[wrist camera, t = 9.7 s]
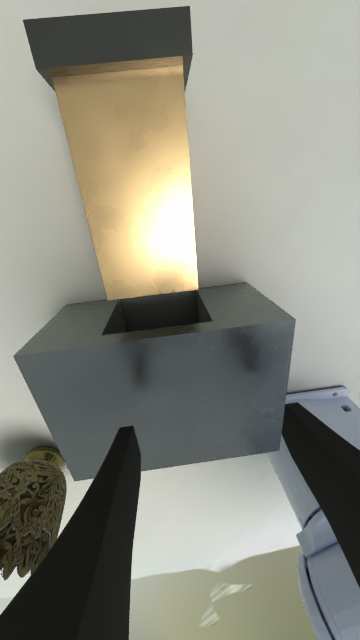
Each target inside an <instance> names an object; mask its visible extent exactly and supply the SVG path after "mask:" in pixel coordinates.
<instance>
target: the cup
mask: <svg viewBox="0 0 360 640" xmlns="http://www.w3.org/2000/svg"><path fill="white" fill-rule="evenodd" d="M61 467H62V456H61V454H60V452H58V451H57V450H56V449H54V448H51V447H37V448H35V449H33V450H31V451H30V452H29V453H28V454H27V455H26V456H25V457H24V459H23V461H19V462H17V463H15V464H13V465H11V466H9V467H8V468H6V469H5V470H4V471H2V472H1V473H0V570H1V571H3V575H2V574H1V575H2V577H3V578H4V580H7V579H8V578H9V576H10V575H11V573H12V572H13V570H14V569H15V568H14V567H16V566H17V573H18V575H19V576H20V577H21V578H22V577H24V576H25V575H26V574H28V572H29V570H30V569H31V570H30V571H31V575H32V574H33V572H34V571H35V570H36V568H37V567H38V565H39V564H40V563H41V561H42V560H43V559H44V557H45V556H46V554H47V553H48V551H49V550H50V549H51V547H52V546H53V544H54V543H55V541H56V540H57V536H58V532H59V528H60V523H61V519H62V514H63V509H64V504H65V498H66V480H65V476H64V474H63V472H62V471H61ZM17 563H18V564H17ZM2 568H3V570H2Z"/></svg>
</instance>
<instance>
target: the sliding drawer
mask: <svg viewBox="0 0 360 640" xmlns="http://www.w3.org/2000/svg"><path fill="white" fill-rule="evenodd" d="M23 22H24V26H25V29H26V33H27V37H28V41H29V44H30V48H31V52H32V56H33V59H34V63H35V67H36V70H37V71H38V72H39V73H40V74H41V75H42V77H43V78H44V79H45V80H46V81H47V83H48V84H49V85H50V86H51V87H52V89H53V90H54V91H55V92H56V96H57V100H58V104H59V108H60V112H61V116H62V120H63V124H64V128H65V132H66V136H67V140H68V144H69V148H70V152H71V156H72V160H73V164H74V168H75V172H76V176H77V180H78V184H79V188H80V192H81V196H82V200H83V204H84V208H85V212H86V216H87V220H88V224H89V228H90V232H91V236H92V240H93V244H94V248H95V252H96V256H97V260H98V264H99V268H100V272H101V276H102V280H103V284H104V288H105V292H106V296H107V300H116V299H124V298H132V297H140V296H148V295H157V294H165V293H173V292H181V291H189V290H197V289H198V277H197V262H196V248H195V234H194V219H193V205H192V190H191V176H190V162H189V147H188V133H187V119H186V104H185V89H186V85H187V80H188V75H189V70H190V65H191V60H192V55H193V54H192V36H191V18H190V6H184V7H172V8H160V9H148V10H136V11H124V12H112V13H99V14H87V15H75V16H63V17H51V18H39V19H27V20H23Z"/></svg>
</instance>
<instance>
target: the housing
mask: <svg viewBox="0 0 360 640" xmlns="http://www.w3.org/2000/svg"><path fill="white" fill-rule="evenodd" d="M197 303H198V317H199V323H195V324H187V325H180V326H172V327H164V328H156V329H149V330H141V331H133V332H127V331H126V327H125V322H124V318H123V313H122V309H121V305H120V300H119V299H116V300H102V301H94V302H86V303H78V304H70V305H66V306H65V307H64V308H63V309H62V310H61V311H60V312H59V313H58V314H57V315H56V316H55V317H53V318H52V319H51V320H50V321H49V322H48V323H47V324H46V325H45V326H44V327H43V328H42V329H41V330H40V331H39V332H38V333H37V334H36V335H35V336H34V337H33V338H32V339H31V340H30V341H29V342H27V343H26V344H25V345H24V346H23V347H22V348H21V349H20V350H19V351H18V352H17V353H16V354H15V355H14V356H13V357H14V359H15V361H16V363H17V365H18V367H19V369H20V371H21V373H22V375H23V377H24V379H25V381H26V383H27V385H28V387H29V389H30V391H31V393H32V395H33V398H34V400H35V402H36V404H37V406H38V408H39V410H40V412H41V414H42V416H43V418H44V420H45V422H46V424H47V426H48V428H49V430H50V432H51V434H52V436H53V438H54V440H55V442H56V445H57V447H58V449H59V451H60V453H61V455H62V457H63V459H64V461H65V463H66V465H67V467H68V469H69V471H70V473H71V475H72V477H73V479H74V481H80V480H86V479H93V478H95V477H96V475H97V473H98V471H99V469H100V467H101V465H102V463H103V461H104V459H105V457H106V455H107V453H108V451H109V449H110V447H111V445H112V443H113V441H114V438H115V436H116V434H117V431H118V429H119V428H120V427H126V426H134V430H135V434H136V437H137V441H138V445H139V449H140V453H141V471H147V470H153V469H160V468H167V467H174V466H180V465H187V464H194V463H200V462H207V461H214V460H220V459H227V458H234V457H241V456H247V455H254V454H261V453H267V452H274V451H279V450H280V442H281V433H282V425H283V417H284V409H285V401H286V393H287V385H288V377H289V369H290V361H291V353H292V345H293V337H294V328H295V320H296V319H294V318H293V317H292V316H290V315H289V314H288V313H286V312H285V311H284V310H283V309H281V308H280V307H279V306H277V305H276V304H275V303H273V302H272V301H271V300H269V299H268V298H267V297H265V296H264V295H263V294H261V293H260V292H259V291H257V290H256V289H255V288H254V287H252V286H251V285H250V284H248V283H240V284H232V285H224V286H216V287H207V288H199V289H197Z"/></svg>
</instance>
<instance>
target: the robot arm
mask: <svg viewBox="0 0 360 640" xmlns="http://www.w3.org/2000/svg"><path fill="white" fill-rule="evenodd" d="M348 393H349V390H348V389H347V388H346V387H338V388H331V389H324V390H317V391H310V392H303V393H296V394H288V395H286V401H285V409H284V417H283V425H282V433H281V442H280V450H279V451H274V452H267V453H268V455H269V458H270V460H271V462H272V464H273V466H274V469H275V471H276V473H277V475H278V477H279V480H280V482H281V484H282V486H283V488H284V491H285V493H286V495H287V497H288V499H289V501H290V504H291V506H292V508H293V510H294V512H295V515H296V517H297V519H298V521H299V523H300V526H301V528H302V531H301V532H300V533H298V534H297V535H296V536H297V539H298V541H299V543H300V546H301V548H302V550H303V551H302V552H301V553H300V554H299V556H298V561H297V566H298V567H297V568H298V583H299V588H300V592H301V597H302V600H303V603H304V607H305V609H306V612H307V615H308V618H309V620H310V623H311V625H312V628H313V630H314V632H315V634H316V636H317V639H318V640H360V408H359V407H358V406H357V405H356V404H355V403H354V402H352V401H351V400H350V399H349V398H348ZM261 454H263V453H261ZM140 479H141V453H140V449H139V445H138V441H137V437H136V434H135V430H134V426H126V427H120V428H119V429H118V431H117V434H116V436H115V438H114V441H113V443H112V445H111V447H110V449H109V451H108V453H107V455H106V457H105V459H104V461H103V463H102V465H101V467H100V469H99V471H98V473H97V475H96V477H95V478H94V480H93V482H92V484H91V485H90V487H89V489H88V491H87V492H86V494H85V496H84V498H83V499H82V501H81V503H80V504H79V506H78V508H77V509H76V511H75V512H74V514H73V516H72V517H71V519H70V520H69V522H68V523H67V525H66V527H65V528H64V530H63V531H62V533H61V534H60V536H59V537H58V538H57V540H56V541H55V543H54V544H53V546H52V547H51V549H50V550H49V551H48V553H47V554H46V556H45V557H44V559H43V560H42V561H41V563H40V564H39V565H38V567H37V568H36V570H35V571H34V572H33V574H32V575H31V576H30V578H29V579H28V580H27V581H26V583H25V584H24V585H23V587H22V588H21V589H20V590H19V592H18V593H17V594H16V596H15V597H14V598H13V600H12V601H11V602H10V603H9V605H8V606H7V607H6V609H5V610H4V611H3V612H2V614H1V615H0V640H129V639H128V638H129V610H130V585H131V584H130V583H131V564H132V549H133V539H134V530H135V522H136V514H137V505H138V497H139V488H140Z"/></svg>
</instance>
